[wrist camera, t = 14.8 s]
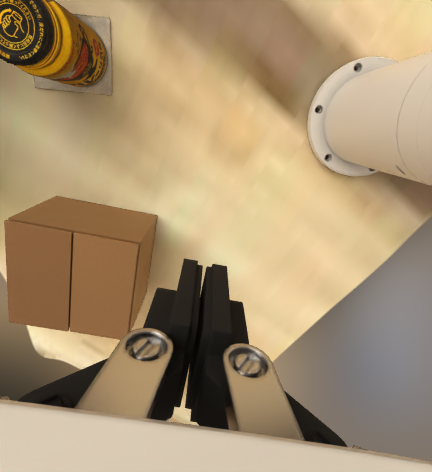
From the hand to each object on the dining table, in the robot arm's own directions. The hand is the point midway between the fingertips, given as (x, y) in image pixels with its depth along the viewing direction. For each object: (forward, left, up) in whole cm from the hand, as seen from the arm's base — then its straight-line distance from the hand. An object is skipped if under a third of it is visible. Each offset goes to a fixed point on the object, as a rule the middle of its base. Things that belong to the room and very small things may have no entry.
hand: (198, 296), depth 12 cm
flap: (+9, +12, -17) cm, 23 cm away
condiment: (+17, -10, -27) cm, 34 cm away
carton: (+12, +12, -27) cm, 32 cm away
